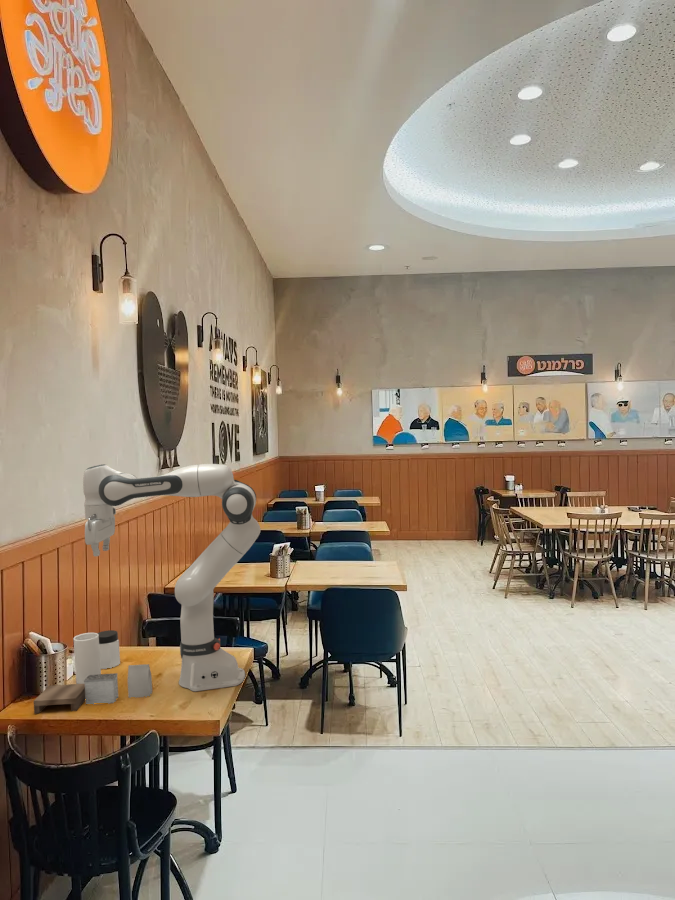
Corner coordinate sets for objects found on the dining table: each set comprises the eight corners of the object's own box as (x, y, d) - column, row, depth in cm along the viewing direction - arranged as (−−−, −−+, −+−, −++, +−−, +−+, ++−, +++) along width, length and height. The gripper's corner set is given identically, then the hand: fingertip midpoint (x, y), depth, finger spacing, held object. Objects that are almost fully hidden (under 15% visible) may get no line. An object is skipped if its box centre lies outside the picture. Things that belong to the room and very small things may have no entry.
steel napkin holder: (118, 697, 211) (117, 673, 210) (114, 703, 206) (113, 678, 206) (90, 699, 210) (89, 675, 210) (85, 705, 206) (84, 680, 205)
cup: (92, 686, 221) (89, 640, 220) (71, 685, 223) (68, 640, 222) (105, 676, 229) (103, 632, 228) (85, 676, 231) (82, 632, 230)
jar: (94, 664, 242) (92, 633, 242) (116, 659, 247) (114, 628, 246) (99, 671, 235) (97, 639, 234) (122, 666, 239) (120, 634, 239)
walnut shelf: (89, 695, 213) (88, 683, 213) (76, 710, 201) (75, 698, 201) (49, 697, 213) (49, 685, 213) (34, 713, 201) (33, 701, 201)
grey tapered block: (149, 696, 210) (147, 666, 209) (128, 697, 210) (126, 667, 209) (152, 692, 213) (150, 662, 213) (132, 693, 213) (130, 663, 213)
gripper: (98, 516, 207) (100, 558, 208) (117, 508, 228) (119, 547, 228) (78, 517, 207) (81, 559, 207) (99, 509, 227) (101, 548, 228)
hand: (101, 553), depth 218 cm, fingers open, 8 cm apart
